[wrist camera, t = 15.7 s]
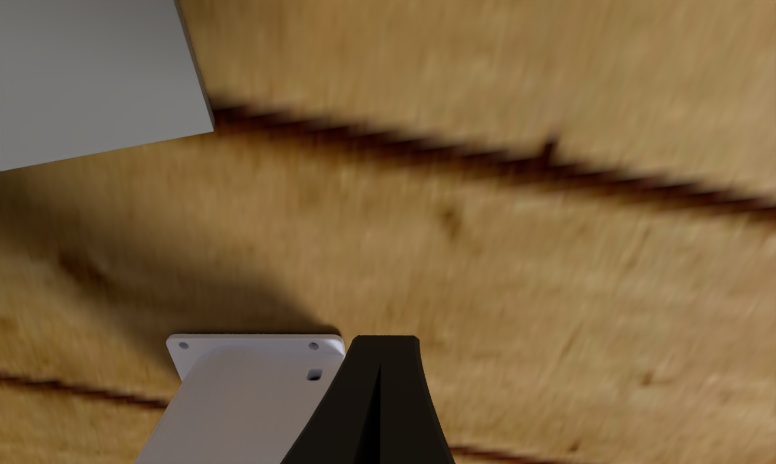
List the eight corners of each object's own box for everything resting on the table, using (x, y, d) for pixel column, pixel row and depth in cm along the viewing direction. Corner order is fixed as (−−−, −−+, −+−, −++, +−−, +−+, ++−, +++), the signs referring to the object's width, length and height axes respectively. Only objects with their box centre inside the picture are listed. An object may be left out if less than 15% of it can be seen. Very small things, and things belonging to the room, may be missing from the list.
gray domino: (163, -32, 13) (-165, 1, 11) (213, 131, 15) (-50, 181, 14) (170, -26, 15) (-114, 3, 13) (214, 119, 17) (-20, 162, 15)
